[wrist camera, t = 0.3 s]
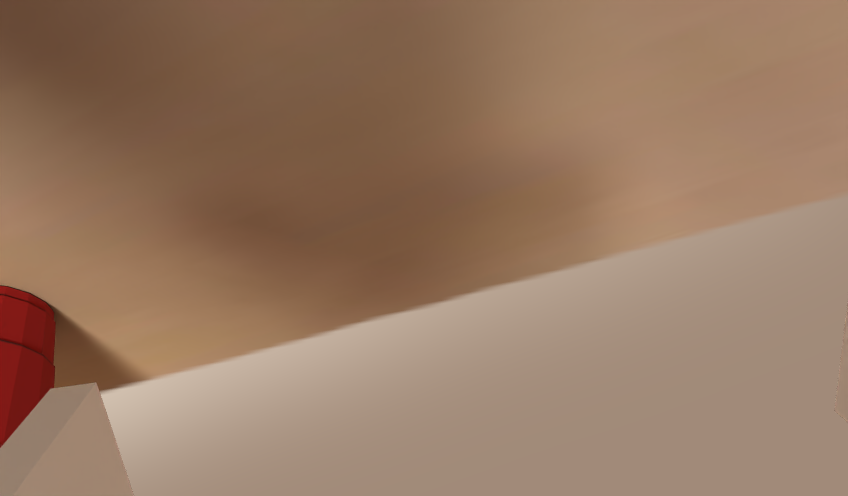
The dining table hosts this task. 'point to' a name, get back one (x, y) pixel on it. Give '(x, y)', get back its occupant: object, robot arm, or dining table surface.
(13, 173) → the dining table surface
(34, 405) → the plastic cup
